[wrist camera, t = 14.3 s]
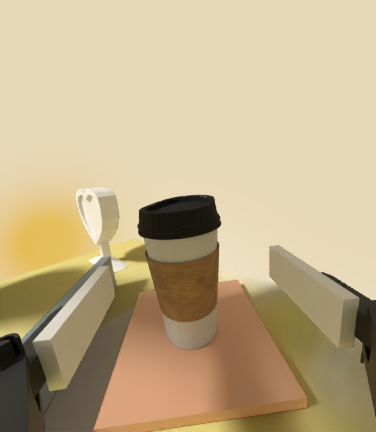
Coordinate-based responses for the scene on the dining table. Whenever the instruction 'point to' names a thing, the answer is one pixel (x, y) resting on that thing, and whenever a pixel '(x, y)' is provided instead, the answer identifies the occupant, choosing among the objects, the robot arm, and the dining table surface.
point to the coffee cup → (184, 265)
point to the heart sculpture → (100, 220)
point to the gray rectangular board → (103, 261)
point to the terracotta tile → (197, 371)
